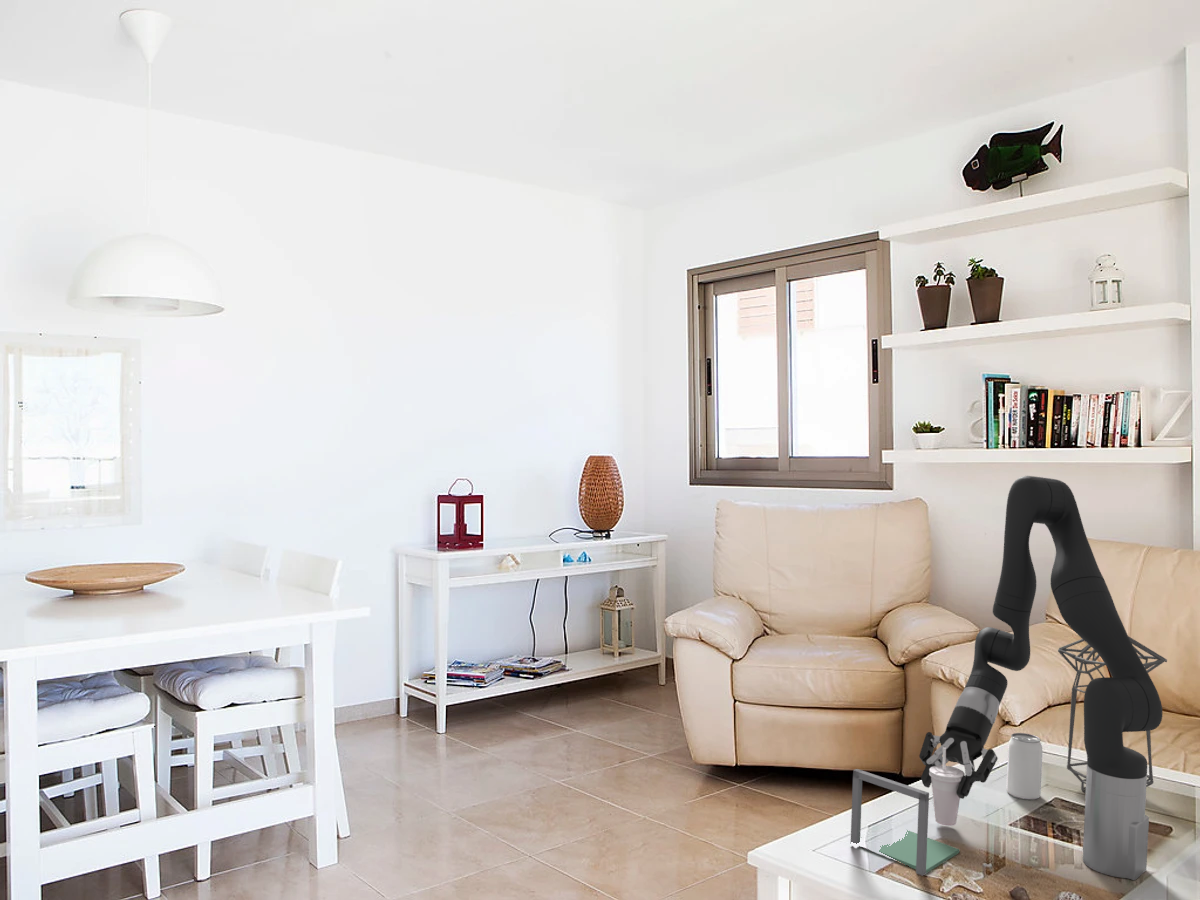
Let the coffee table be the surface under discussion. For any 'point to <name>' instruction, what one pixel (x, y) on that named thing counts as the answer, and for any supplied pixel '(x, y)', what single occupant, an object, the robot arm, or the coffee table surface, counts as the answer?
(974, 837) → the coffee table surface
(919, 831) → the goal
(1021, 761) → the can
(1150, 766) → the geometric lantern
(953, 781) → the smoothie
